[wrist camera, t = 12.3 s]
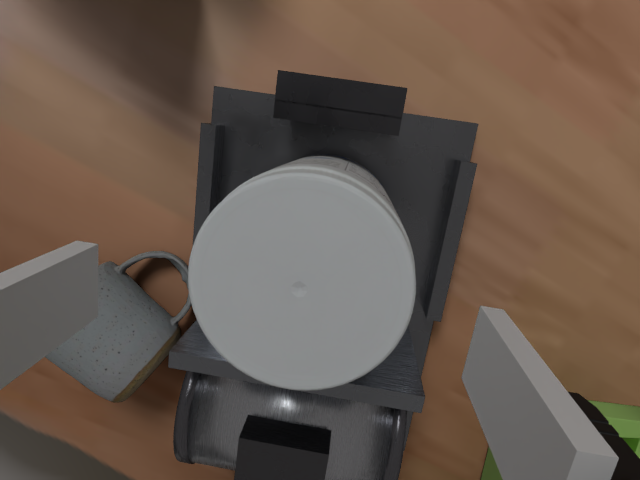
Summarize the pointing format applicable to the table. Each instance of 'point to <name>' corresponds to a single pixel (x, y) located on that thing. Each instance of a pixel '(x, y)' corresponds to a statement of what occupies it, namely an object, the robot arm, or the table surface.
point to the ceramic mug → (121, 334)
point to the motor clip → (430, 270)
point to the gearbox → (627, 420)
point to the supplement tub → (304, 275)
